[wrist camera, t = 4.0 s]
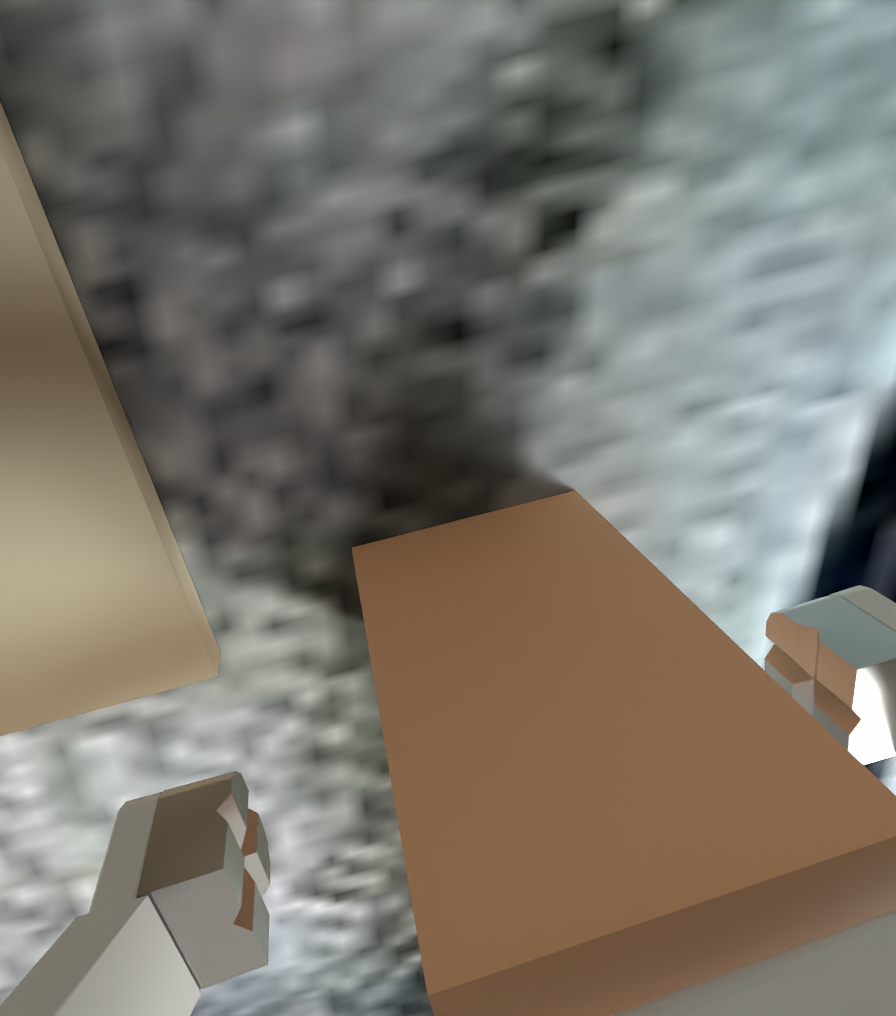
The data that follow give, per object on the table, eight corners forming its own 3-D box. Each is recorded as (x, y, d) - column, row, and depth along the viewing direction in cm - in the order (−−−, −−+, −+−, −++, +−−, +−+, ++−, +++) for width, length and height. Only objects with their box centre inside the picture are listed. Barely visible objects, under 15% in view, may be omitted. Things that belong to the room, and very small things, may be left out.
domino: (583, 568, 15) (902, 951, 7) (372, 625, 15) (465, 1110, 7) (575, 490, 15) (926, 825, 6) (351, 547, 14) (427, 996, 6)
